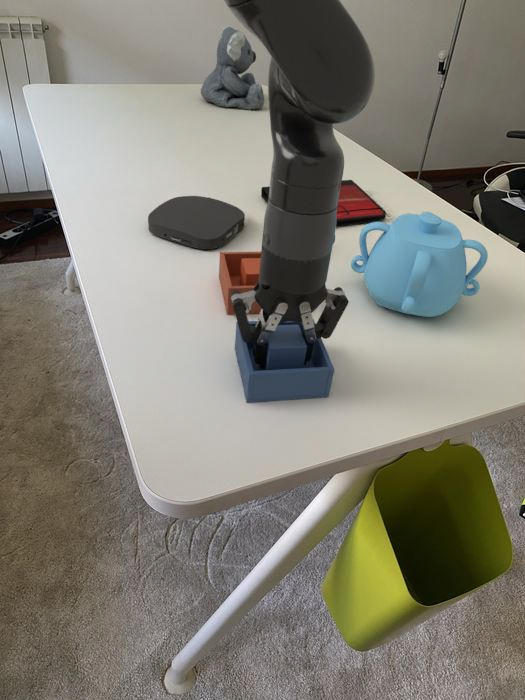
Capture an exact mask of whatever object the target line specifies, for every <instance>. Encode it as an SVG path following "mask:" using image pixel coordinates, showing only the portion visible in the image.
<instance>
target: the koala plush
mask: <svg viewBox="0 0 525 700" xmlns="http://www.w3.org/2000/svg"><path fill="white" fill-rule="evenodd" d="M256 59H257V54H256V52H255V51H254V50H253V49H252V46H251V44H250V41H249V40H248V38H247V37H246V35H245V34H244V33H243V32H242V31H241V30H239V29H236V28H235V27H234V26H230V25H227V26H225V27H223V28H222V32H221V35H220V39H219V41H218V44H217V48H216V64H215V65H216V66H215V68H214V70H212V71H211V72H210V73H209V74H208V76H207V77H205V79H204V81H203V83H202V85H201V88H200V94H201V97H202V98H203V100H204V101H205V102H207V103H210V104H212V103H213V104H214V105H216V106H217V107H223V108H237V109H243V110H251V111H252V110H260V108H263V107H264V105H265V95H264V89H263V87H262V84H260V83H256V79H255V77H254V74H253V73H252V72H246V71H248V70H249V68H250V67H251V65H252V64H254V63H255V62H256ZM239 75H241V76H239Z"/></svg>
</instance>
